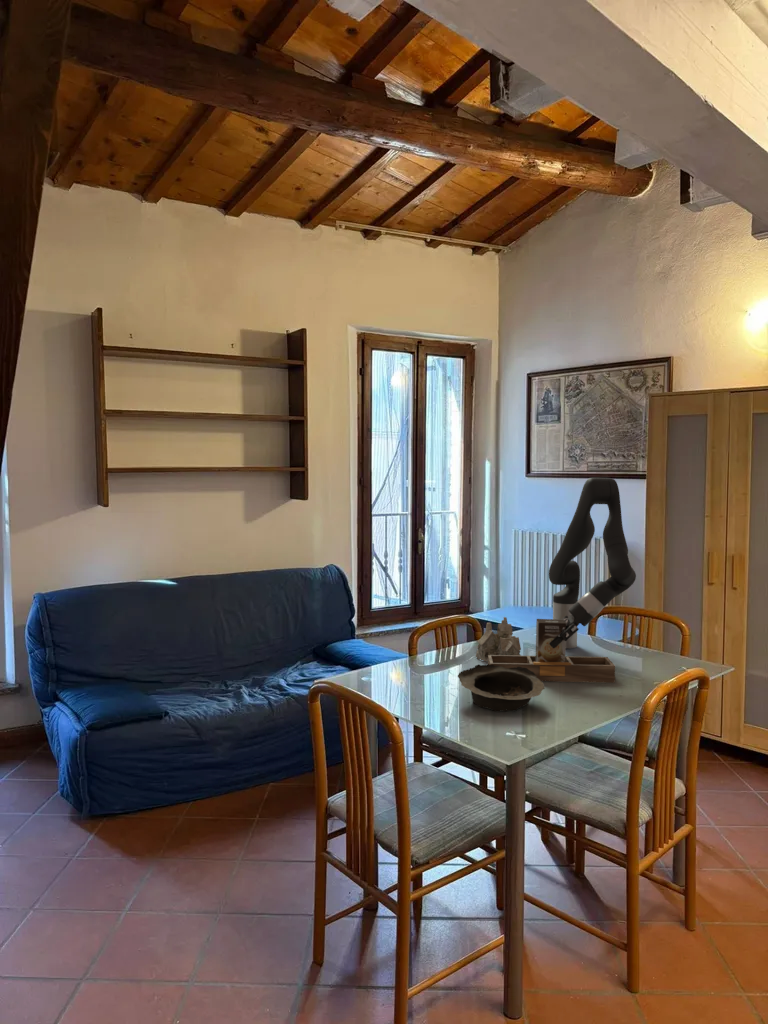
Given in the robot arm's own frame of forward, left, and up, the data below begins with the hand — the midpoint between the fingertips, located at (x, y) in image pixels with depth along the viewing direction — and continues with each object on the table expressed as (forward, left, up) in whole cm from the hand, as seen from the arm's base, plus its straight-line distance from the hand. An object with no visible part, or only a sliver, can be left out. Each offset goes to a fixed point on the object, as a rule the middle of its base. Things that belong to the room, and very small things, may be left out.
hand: (549, 643), depth 241 cm
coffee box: (0, 0, -9) cm, 9 cm away
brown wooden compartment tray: (0, 0, -11) cm, 11 cm away
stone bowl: (+29, -18, -12) cm, 36 cm away
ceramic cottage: (-21, -15, -12) cm, 28 cm away
